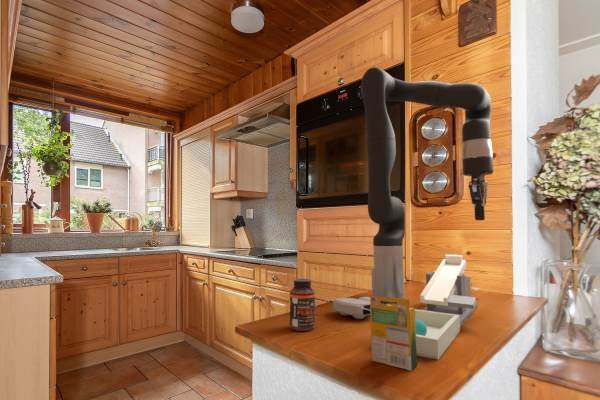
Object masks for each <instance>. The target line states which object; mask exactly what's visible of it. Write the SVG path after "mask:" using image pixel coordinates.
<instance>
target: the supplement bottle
mask: <svg viewBox="0 0 600 400" xmlns="http://www.w3.org/2000/svg"><path fill="white" fill-rule="evenodd" d="M311 283H312V280H311V279H309V278H295V279H294V280H293V285H294V286H293V288H291V289H290V291H289V327H290V329H291V330H293V331H295V332H309V331H312V330H314V329H315V327H316V292H315V290H314V289H313V288H312V286H311V285H312V284H311Z"/></svg>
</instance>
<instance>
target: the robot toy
mask: <svg viewBox="0 0 600 400" xmlns="http://www.w3.org/2000/svg"><path fill="white" fill-rule="evenodd" d="M326 301H327V302H330V303H332V308H333V309H332V310H334V311H335V312H337V313H339V314H340V315H341V316H343V315H344V317H345V316H346V317H347V315H348V316H352V317H353V318H354V319H357V320H363V319H364V318H366V316H371V314H370V306H371V303H370V296H361V297H357V298H352V297H338V298H334V300H330V299H326ZM381 303H382V304H387V305H390V304H389V303H388V302H381Z"/></svg>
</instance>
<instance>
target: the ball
mask: <svg viewBox="0 0 600 400" xmlns="http://www.w3.org/2000/svg"><path fill="white" fill-rule="evenodd" d="M415 324H416V334H417V335H423V336H425V335H426V333H427V328H426V325H425V324H424V322H422V321H421V320H419V319H415Z"/></svg>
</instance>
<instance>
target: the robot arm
mask: <svg viewBox="0 0 600 400" xmlns="http://www.w3.org/2000/svg"><path fill="white" fill-rule="evenodd" d="M360 86H361V87H360V89H361V94H362V101H363V107H364V114H365V115H364V117H365V131H366V154H367V170H368V171H367V172H368V174H367V175H368V195H367V197H368V198H367V212H368V217H369V218H370V220H371V221H372V222H373V223H374V224H377V225H378V231H377V233H376V234H375V236H373V238H372V243H373V248H372V250H373V268H372V269H371V295H374V296H382V297H390V298H399V299H405V273H404V272H405V271H404V246H403V245H404V244H403V243H404V237H405V234H406V233H405V232H406V231H405V230H406V211H405V206H404V203H403V202H402V200H401V199H400V198H398V197H396V196H392V194H391V182H390V181H391V173H392V170H393V167H394V164H395V161H396V158H397V157H396V156H397V155H396V154H397V146H396V135H395V131H394V128H393V125H392V122H391V118H390V117H389V114H388V111H387V105H386V102H406V103H407V102H409V103H416V104H420V105H425V106H431V107H437V108H443V109H444V108H445V109H446V108H450V107H452V108H453V107H454V108H460V109H462V110H464V114H465V115H464V117H465V118H464V123H463V124H462V128H461V136H462V138H461V139H462V140H461V142H462V147H461V160H462V162H461V163H462V175H463V176H465V177H471V178H470V180H471V181H469V182H468V184H469V185H468V189H469V194H470V199H471V204H472V205H473V207H474V220H475V221H485V220H486V218H485V217H486V215H485V211H486V210H485V207H486V204H487V196H488V181H486V179H485V178H486V177H485V176H489V175H492V174H494V157H493V156H494V155H493V145H492V137H491V135H492V134H491V124H490V122H491V115H492V99H491V96H490V94H489V92H488V91H487V90H486V88H485V87H483V86H482V85H480V84H478V83H473V82H463V83H462V82H458V83H449V82H442V81H434V80H423V81H405V80H401V79H398V78H395V77H393V76H392V75H390V74H389V73H388V72H386V71H385V70H384V69H381V68H379V67H370V68H368V69H367V70H366V71H365V73H364V74H363V76H362V78H361V83H360ZM381 303H393V302H392V301H390V300H387V301H385V300H381Z"/></svg>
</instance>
